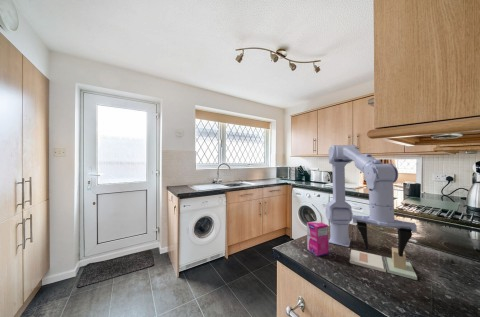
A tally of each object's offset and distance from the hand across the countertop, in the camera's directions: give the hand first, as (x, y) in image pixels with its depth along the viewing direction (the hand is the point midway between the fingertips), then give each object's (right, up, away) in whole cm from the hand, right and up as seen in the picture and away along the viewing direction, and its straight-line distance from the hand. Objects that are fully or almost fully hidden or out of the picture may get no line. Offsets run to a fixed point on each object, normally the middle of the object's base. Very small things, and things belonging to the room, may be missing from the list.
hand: (382, 251), depth 52 cm
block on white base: (+11, -10, +7) cm, 17 cm away
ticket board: (+4, -10, +12) cm, 17 cm away
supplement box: (-11, -11, +19) cm, 24 cm away
